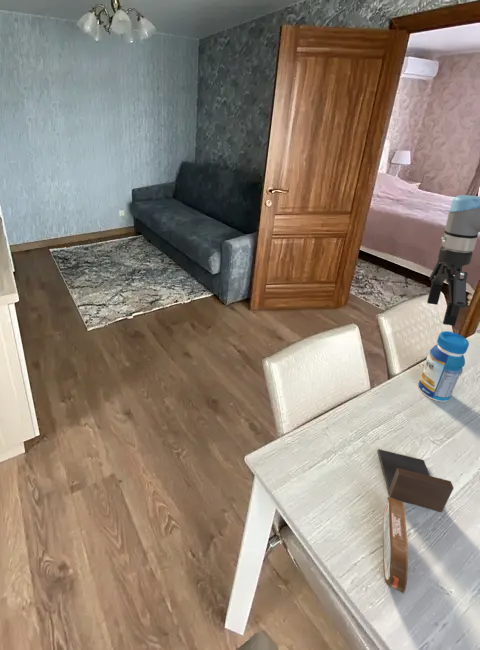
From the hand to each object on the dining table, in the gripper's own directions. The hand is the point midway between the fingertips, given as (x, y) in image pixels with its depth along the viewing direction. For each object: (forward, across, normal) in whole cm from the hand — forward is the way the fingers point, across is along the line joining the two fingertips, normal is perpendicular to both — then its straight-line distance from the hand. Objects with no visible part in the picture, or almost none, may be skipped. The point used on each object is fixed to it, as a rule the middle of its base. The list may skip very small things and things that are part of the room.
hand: (439, 313), depth 107 cm
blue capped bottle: (+21, +11, -1) cm, 24 cm away
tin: (+24, +61, -23) cm, 69 cm away
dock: (+23, +43, -16) cm, 51 cm away
